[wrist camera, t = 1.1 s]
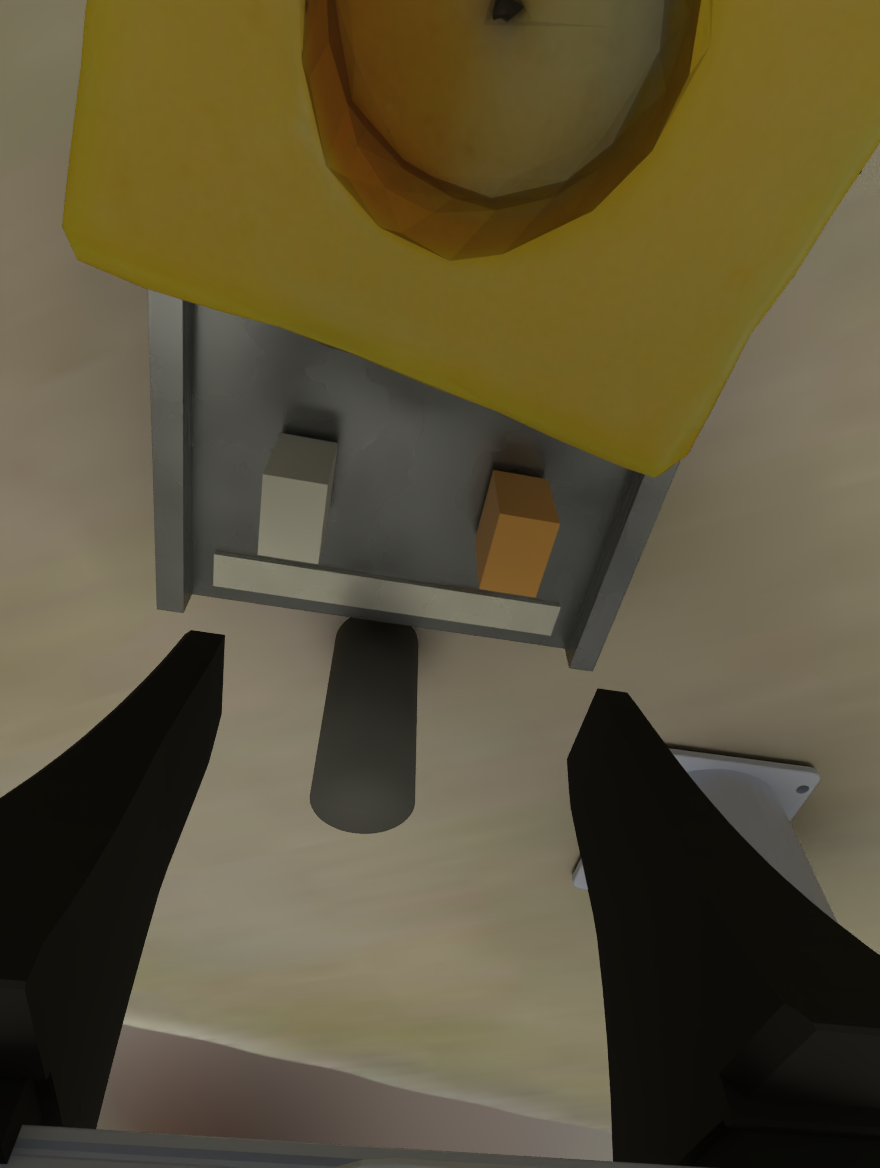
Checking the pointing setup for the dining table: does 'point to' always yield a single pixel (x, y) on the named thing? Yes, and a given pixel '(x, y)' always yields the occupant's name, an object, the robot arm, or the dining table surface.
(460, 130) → the candle
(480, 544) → the tan rectangular prism
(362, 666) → the post
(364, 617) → the grey tray
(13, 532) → the dining table surface
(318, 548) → the upright cream block
